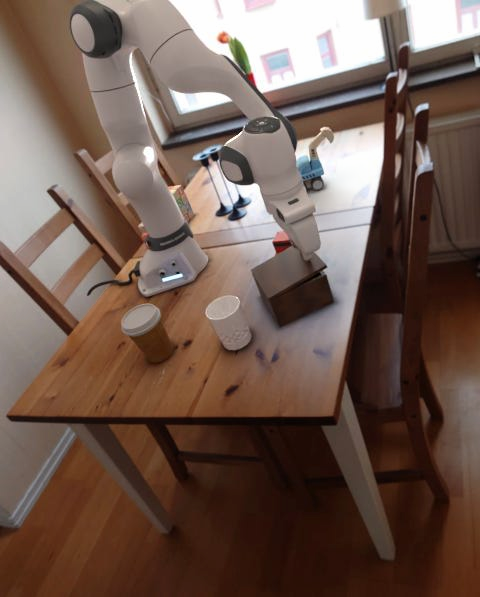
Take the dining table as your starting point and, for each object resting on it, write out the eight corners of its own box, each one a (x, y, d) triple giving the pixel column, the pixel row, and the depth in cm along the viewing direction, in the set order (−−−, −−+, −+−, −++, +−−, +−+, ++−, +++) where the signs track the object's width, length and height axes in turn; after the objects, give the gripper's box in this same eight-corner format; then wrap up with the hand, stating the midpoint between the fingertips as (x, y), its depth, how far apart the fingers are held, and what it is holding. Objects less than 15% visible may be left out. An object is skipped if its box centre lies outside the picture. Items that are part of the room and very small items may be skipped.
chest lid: (303, 242, 112) (297, 227, 110) (327, 267, 101) (320, 251, 98) (251, 272, 112) (243, 258, 110) (269, 301, 101) (261, 286, 99)
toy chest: (311, 274, 117) (303, 248, 113) (334, 302, 106) (326, 274, 102) (261, 297, 117) (251, 272, 112) (279, 327, 106) (269, 301, 101)
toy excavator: (345, 182, 150) (333, 130, 140) (294, 198, 153) (279, 148, 144) (340, 172, 157) (329, 122, 147) (292, 187, 160) (278, 139, 151)
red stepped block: (297, 268, 121) (289, 243, 117) (279, 269, 124) (270, 244, 119) (305, 250, 127) (297, 225, 122) (287, 252, 129) (279, 227, 125)
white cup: (235, 325, 112) (220, 292, 106) (260, 332, 107) (246, 298, 101) (214, 347, 108) (198, 315, 102) (240, 356, 103) (224, 322, 97)
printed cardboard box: (163, 249, 156) (146, 217, 150) (149, 249, 160) (132, 218, 153) (195, 214, 170) (181, 184, 163) (181, 215, 173) (167, 185, 166)
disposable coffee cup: (138, 352, 116) (115, 316, 109) (172, 333, 118) (152, 296, 111) (147, 374, 108) (123, 336, 102) (184, 353, 110) (162, 315, 103)
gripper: (256, 188, 106) (274, 239, 114) (287, 220, 89) (306, 278, 97) (281, 176, 106) (297, 228, 114) (317, 207, 89) (333, 265, 97)
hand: (301, 252), depth 105 cm, fingers closed on chest lid, 5 cm apart
